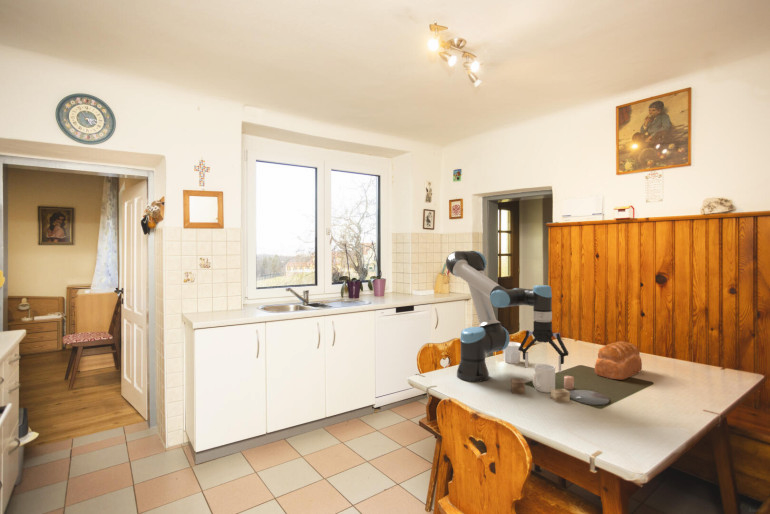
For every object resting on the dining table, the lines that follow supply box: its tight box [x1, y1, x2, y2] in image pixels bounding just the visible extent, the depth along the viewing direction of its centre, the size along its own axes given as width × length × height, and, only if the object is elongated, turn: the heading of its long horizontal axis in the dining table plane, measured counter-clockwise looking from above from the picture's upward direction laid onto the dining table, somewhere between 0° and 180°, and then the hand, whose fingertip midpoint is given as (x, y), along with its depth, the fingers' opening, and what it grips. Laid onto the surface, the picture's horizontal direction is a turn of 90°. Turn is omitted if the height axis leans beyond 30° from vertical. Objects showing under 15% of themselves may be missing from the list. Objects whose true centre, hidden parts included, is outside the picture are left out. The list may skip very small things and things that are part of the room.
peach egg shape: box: [563, 375, 575, 391], centre depth 174 cm, size 4×4×5 cm
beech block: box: [550, 388, 571, 403], centre depth 160 cm, size 6×4×4 cm, turn 95°
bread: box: [594, 340, 643, 381], centre depth 195 cm, size 14×26×16 cm, turn 127°
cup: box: [502, 341, 522, 365], centre depth 215 cm, size 10×10×10 cm
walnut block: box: [510, 378, 526, 395], centre depth 169 cm, size 5×5×5 cm
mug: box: [532, 363, 556, 394], centre depth 171 cm, size 12×8×10 cm
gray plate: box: [569, 389, 610, 406], centre depth 162 cm, size 15×15×1 cm
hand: (543, 369), depth 170 cm, fingers open, 13 cm apart
